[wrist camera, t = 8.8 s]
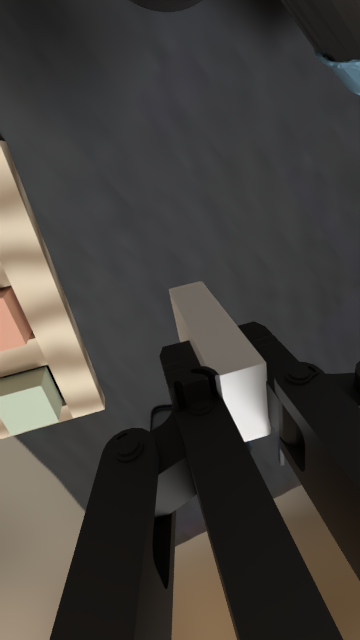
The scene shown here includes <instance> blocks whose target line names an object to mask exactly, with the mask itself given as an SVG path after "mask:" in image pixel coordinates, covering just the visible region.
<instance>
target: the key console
mask: <svg viewBox="0 0 360 640" xmlns="http://www.w3.org/2000/svg"><path fill="white" fill-rule="evenodd" d="M10 285H11V286H12V288H13V290H14V292H15V294H16V297H17V299H18V301H19V303H20V305H21V307H22V309H23V312H24V314H25V316H26V318H27V320H28V322H29V324H30V327H31V329H32V332H31V335H30V337H29V339H28V342H27V344H26V345H24V346H20V347H16V348H12V349H8V350H5V351H1V352H0V379H1V378H3V376H7V375H11V374H14V373H18V372H22V371H26V370H29V369H33V368H37V367H41V366H44V365H49V367H50V370H51V372H52V374H53V376H54V378H55V380H56V382H57V385H58V387H59V389H60V391H61V393H62V396H60V397H61V399H62V401H63V402H62V408H61V413H60V419H59V422H62V421H66V420H69V419H73V418H76V417H80V416H83V415H87V414H90V413H94V412H97V411H101V410H104V409H105V397H104V395H103V392H102V390H101V387H100V384H99V382H98V379H97V377H96V374H95V371H94V369H93V366H92V364H91V361H90V359H89V356H88V353H87V351H86V348H85V346H84V343H83V340H82V338H81V335H80V333H79V330H78V327H77V325H76V322H75V320H74V317H73V315H72V312H71V309H70V307H69V304H68V302H67V299H66V296H65V294H64V291H63V289H62V286H61V283H60V281H59V278H58V276H57V273H56V271H55V268H54V265H53V263H52V260H51V258H50V255H49V252H48V250H47V247H46V245H45V242H44V239H43V237H42V234H41V232H40V229H39V226H38V224H37V221H36V219H35V216H34V214H33V211H32V208H31V206H30V203H29V201H28V198H27V195H26V193H25V190H24V188H23V185H22V182H21V180H20V177H19V175H18V172H17V170H16V167H15V164H14V162H13V159H12V157H11V154H10V151H9V149H8V146H7V144H6V141H1V140H0V288H2V287H6V286H10ZM59 422H57V423H59ZM53 424H55V423H53ZM50 425H52V424H50ZM46 426H48V425H46ZM43 427H45V426H43ZM39 428H41V427H39ZM36 429H38V428H36ZM32 430H34V429H32ZM29 431H31V430H29ZM25 432H27V431H25ZM22 433H24V432H22ZM18 434H20V433H18ZM15 435H17V434H15ZM9 436H13V435H10V433H9V431H8V430H7V428H6V426H5V425H4V423H3V422H2V420H1V418H0V439H2V438H6V437H9Z"/></svg>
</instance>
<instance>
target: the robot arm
mask: <svg viewBox="0 0 360 640" xmlns="http://www.w3.org/2000/svg"><path fill="white" fill-rule="evenodd" d="M130 1H132V2H133V3H135V4H137V5H139V6H141V7H144V8H147V9H150V10H154V11H160V12H174V11H180V10H184V9H187V8H189V7H192V6H194V5H196V4H197V3H199V2H201V1H202V0H130ZM280 1H281V2H282V3H283V5H284V6H285V8H286V9H287V10H288V12H289V13H290V15H291V16H292V18H293V19H294V20H295V22H296V23H297V25H298V26H299V27H300V29H301V30H302V32H303V33H304V35H305V36H306V37H307V39H308V40H309V42H310V43H311V44H312V46H313V48H314V51H315V55H316V56H317V58H318V59H319V60H320V61H321V62H322V63H324V64H325V65H328V66H329V67H330V68H331V69H332V70H333V71H334V73H335V74H336V75H337V76H338V78H339V79H340V80H341V81H342V82H343V84H344V85H345V86H346V87H347V88H348V89H349V90H350V91H352V92H354V93H356V94H358V95H360V0H280ZM169 293H170V297H171V302H172V306H173V311H174V316H175V320H176V325H177V330H178V334H179V339H180V343H176V344H173V345H169V346H165V347H163V348H162V351H161V354H160V360H161V364H162V368H163V372H164V376H165V380H166V384H167V387H168V391H169V395H170V398H171V402H172V406H173V407H172V411H171V414H170V415H169V417H168V418H167V420H166V421H165V422H164V423H163V424H161V425H160V426H159V427H157V428H155V429H154V430H152V431H150V432H149V431H147V430H145V429H143V428H131V429H127V430H123V431H121V432H120V433H118V434H116V435H114V436H113V437H112V438H111V439H110V440H109V441H108V442H107V444H106V446H105V448H104V450H103V452H102V455H101V459H100V462H99V466H98V469H97V473H96V477H95V480H94V484H93V487H92V491H91V494H90V498H89V501H88V505H87V509H86V512H85V516H84V520H83V523H82V526H81V530H80V534H79V537H78V540H77V544H76V548H75V551H74V555H73V558H72V562H71V565H70V569H69V573H68V576H67V580H66V583H65V587H64V590H63V594H62V597H61V601H60V604H59V608H58V611H57V615H56V619H55V622H54V626H53V629H52V633H51V636H50V640H171V635H172V608H173V582H174V554H175V529H176V509H177V508H179V507H180V506H181V505H183V504H184V503H185V502H187V501H188V500H189V499H191V498H192V497H194V496H195V495H196V494H197V497H198V501H199V504H200V508H201V511H202V515H203V519H204V522H205V526H206V529H207V533H208V537H209V540H210V544H211V547H212V551H213V555H214V558H215V562H216V565H217V569H218V573H219V576H220V580H221V583H222V587H223V590H224V594H225V598H226V601H227V605H228V608H229V612H230V616H231V619H232V623H233V627H234V630H235V634H236V637H237V640H343V638H342V636H341V634H340V632H339V630H338V628H337V626H336V624H335V622H334V620H333V618H332V616H331V614H330V612H329V610H328V608H327V606H326V604H325V602H324V600H323V598H322V596H321V594H320V592H319V590H318V588H317V586H316V584H315V582H314V580H313V578H312V576H311V574H310V572H309V570H308V568H307V566H306V564H305V562H304V560H303V558H302V556H301V554H300V552H299V550H298V548H297V546H296V544H295V542H294V540H293V538H292V536H291V534H290V532H289V530H288V528H287V526H286V524H285V522H284V520H283V518H282V516H281V514H280V512H279V510H278V508H277V506H276V504H275V502H274V500H273V498H272V496H271V494H270V492H269V490H268V488H267V486H266V484H265V482H264V480H263V478H262V476H261V474H260V472H259V470H258V468H257V466H256V464H255V462H254V460H253V458H252V456H251V454H250V452H249V450H248V448H247V446H246V444H245V442H247V441H250V440H253V439H256V438H260V437H263V436H266V435H269V434H271V428H270V422H271V423H272V425H273V426H274V428H275V430H276V431H277V438H278V457H279V462H280V465H281V466H282V465H284V456H285V458H286V459H287V461H288V463H289V464H290V466H291V468H292V469H293V471H294V473H295V474H296V476H297V478H298V479H299V481H300V483H301V484H302V486H303V487H304V489H305V491H306V492H307V494H308V496H309V498H310V499H311V501H312V502H313V504H314V506H315V507H316V509H317V511H318V512H319V514H320V516H321V517H322V519H323V521H324V522H325V524H326V526H327V527H328V529H329V531H330V532H331V534H332V536H333V537H334V539H335V541H336V542H337V544H338V546H339V547H340V549H341V551H342V552H343V554H344V556H345V557H346V559H347V561H348V562H349V564H350V565H351V567H352V569H353V571H354V572H355V574H356V575H357V577H358V579H359V580H360V361H359V362H358V363H357V364H356V369H355V373H343V374H325V373H324V372H323V371H322V370H321V369H320V368H318V367H317V366H315V365H313V364H310V363H306V362H299V361H298V360H297V359H296V358H295V357H294V356H293V355H292V354H291V353H290V352H289V351H288V350H287V349H286V348H285V347H284V346H283V345H282V343H281V342H280V341H278V339H277V338H276V337H275V336H274V335H272V333H271V332H270V331H269V330H268V329H267V328H266V327H265V326H263V325H261V324H258V323H256V322H250V323H247V324H243V325H239V326H237V325H236V324H235V323H234V321H233V320H232V319H231V318H230V316H229V315H228V314H227V313H226V311H225V310H224V309H223V308H222V306H221V305H220V304H219V303H218V301H217V300H216V299H215V297H214V296H213V295H212V294H211V292H210V291H209V290H208V289H207V287H206V286H205V285H204V284H203V282H202V281H199V282H195V283H191V284H187V285H183V286H179V287H175V288H171V289H169Z"/></svg>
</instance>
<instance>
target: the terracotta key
mask: <svg viewBox="0 0 360 640" xmlns="http://www.w3.org/2000/svg"><path fill="white" fill-rule="evenodd" d="M31 332H32V329H31V327H30V324H29V322H28V320H27V318H26V316H25V314H24V312H23V309H22V307H21V305H20V303H19V301H18V299H17V297H16V294H15V292H14V290H13V288H12V286H11V285H10V286H6V287H2V288H0V352H1V351H5V350H8V349H12V348H16V347H20V346H24V345H26V344H27V342H28V339H29V337H30V335H31Z"/></svg>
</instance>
